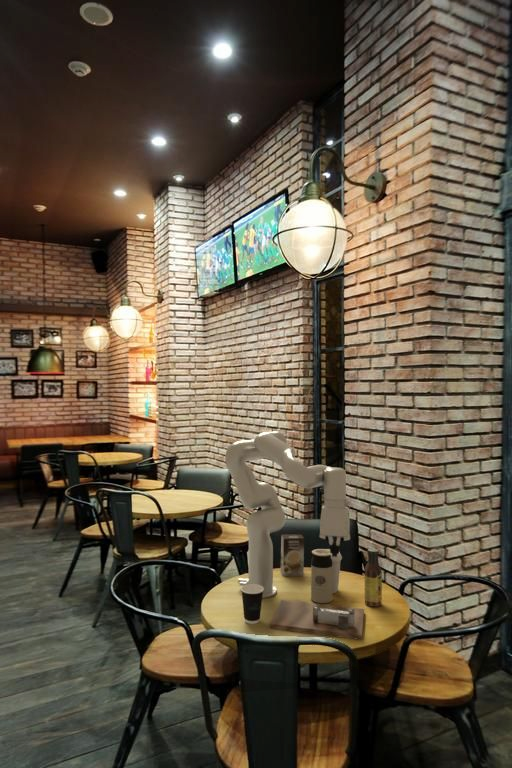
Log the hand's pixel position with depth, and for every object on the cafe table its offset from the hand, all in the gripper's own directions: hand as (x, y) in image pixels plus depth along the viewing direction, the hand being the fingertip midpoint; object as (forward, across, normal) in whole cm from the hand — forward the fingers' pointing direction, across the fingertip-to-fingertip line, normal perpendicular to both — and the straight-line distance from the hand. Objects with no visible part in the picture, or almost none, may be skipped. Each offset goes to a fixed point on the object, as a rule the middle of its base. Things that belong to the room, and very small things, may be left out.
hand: (334, 555), depth 178 cm
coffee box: (+21, +22, -37) cm, 48 cm away
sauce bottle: (+21, -13, -14) cm, 29 cm away
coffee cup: (+21, +4, -23) cm, 32 cm away
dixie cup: (+21, +27, +11) cm, 36 cm away
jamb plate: (+21, +5, +5) cm, 22 cm away
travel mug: (+21, +6, -13) cm, 26 cm away
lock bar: (+19, -1, +10) cm, 22 cm away
